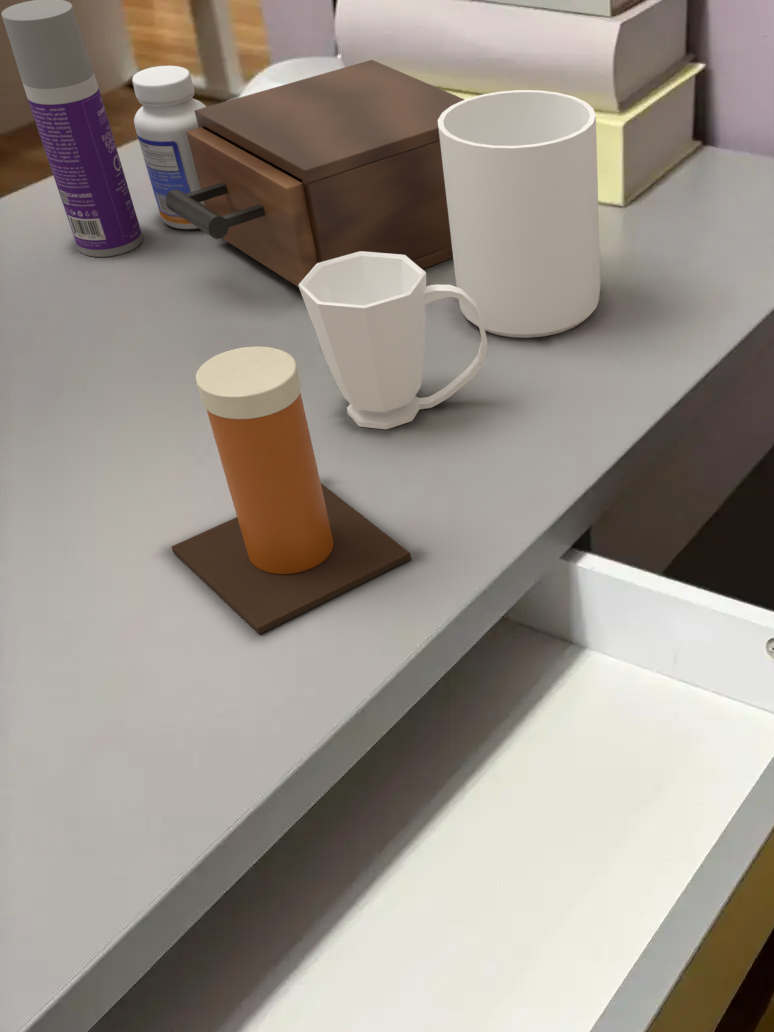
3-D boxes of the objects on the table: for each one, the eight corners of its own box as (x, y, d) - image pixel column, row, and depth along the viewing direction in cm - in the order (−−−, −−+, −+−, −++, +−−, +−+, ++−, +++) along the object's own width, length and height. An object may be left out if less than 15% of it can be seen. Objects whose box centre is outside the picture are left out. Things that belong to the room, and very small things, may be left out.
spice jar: (275, 588, 62) (226, 407, 55) (230, 547, 65) (177, 368, 57) (352, 550, 64) (315, 371, 57) (306, 512, 67) (264, 335, 59)
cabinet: (331, 304, 84) (305, 170, 77) (224, 236, 91) (193, 110, 85) (502, 239, 90) (491, 110, 84) (389, 181, 98) (372, 59, 91)
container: (152, 245, 91) (84, 10, 80) (90, 263, 89) (11, 25, 78) (130, 224, 93) (61, -7, 82) (69, 240, 92) (-10, 8, 81)
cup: (325, 386, 76) (298, 255, 70) (486, 369, 77) (473, 239, 71) (326, 447, 72) (297, 313, 66) (498, 429, 73) (485, 294, 67)
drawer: (253, 314, 81) (227, 207, 76) (158, 249, 88) (129, 147, 83) (470, 233, 89) (460, 131, 84) (367, 179, 96) (352, 82, 91)
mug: (453, 344, 80) (430, 150, 71) (466, 261, 88) (446, 78, 79) (601, 339, 79) (596, 145, 71) (600, 257, 88) (595, 73, 79)
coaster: (259, 634, 60) (257, 628, 60) (172, 552, 65) (170, 546, 65) (411, 559, 64) (410, 552, 64) (319, 486, 69) (318, 480, 69)
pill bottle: (222, 195, 96) (188, 56, 89) (243, 221, 93) (209, 78, 86) (153, 211, 95) (113, 70, 88) (171, 237, 92) (131, 93, 84)
